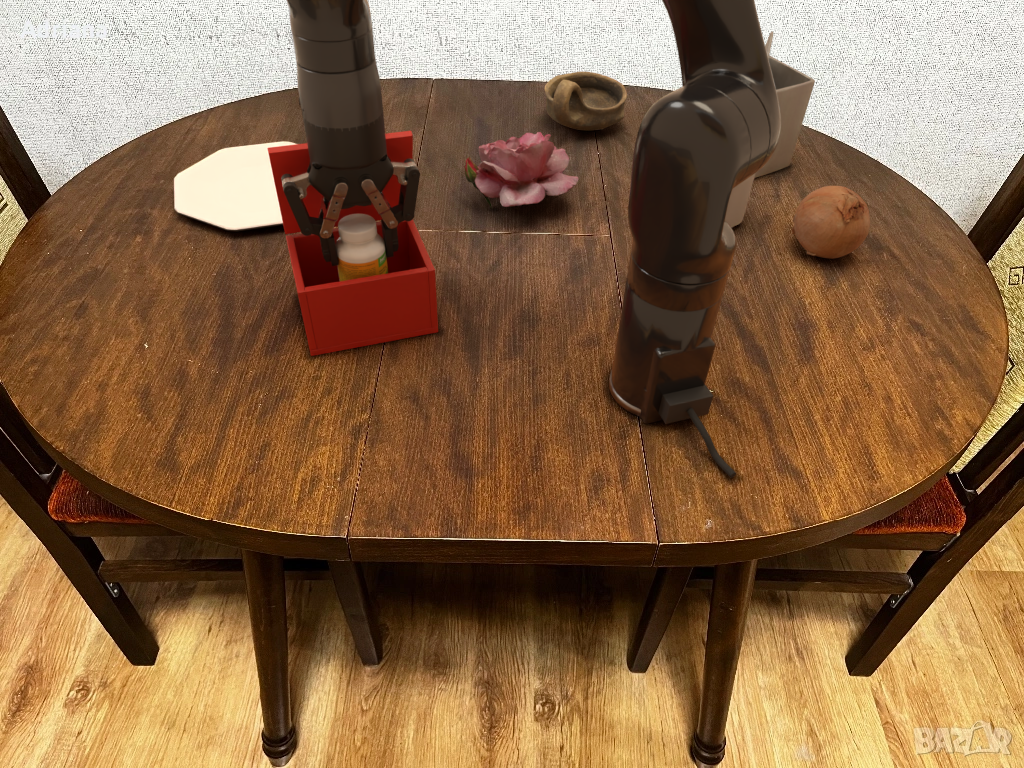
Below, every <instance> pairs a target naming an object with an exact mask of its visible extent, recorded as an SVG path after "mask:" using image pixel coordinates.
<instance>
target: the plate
mask: <svg viewBox="0 0 1024 768" xmlns="http://www.w3.org/2000/svg"><path fill="white" fill-rule="evenodd" d="M295 144H296V143H295V142H291V141H283V140H282V141H273V142H267V143H257V144H256V143H255V144H248V145H241V146H240V145H239V146H232V147H224V148H222V149H219V150H217V151H215V152H212V153H211V154H210V155H208V156H206V157H205V158H203V159H201V160H198V162H196V163H194V164H192V165H190V166H189V167H187V168H185V169H184V170H182V171H180V172H178V173H177V174H176V176H175V177H174V178H173V196H174V197H173V199H174V211H175V212H176V213H177V214H178V215H181V216H184V217H187V218H190V219H192V220H195V221H198V222H201V223H205V224H206V225H207V224H208V225H210V226H212V227H216V228H219V229H222V230H224V231H226V232H227V231H228V232H242V231H243V232H244V231H250V230H256V229H264V228H271V227H277V226H283V221H282V216H281V211H280V207H279V202H278V197H277V192H276V187H275V183H274V178H273V173H272V168H271V163H270V158H269V154H268V149H267V148H270V147H279V146H287V145H295Z"/></svg>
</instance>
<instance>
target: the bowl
mask: <svg viewBox="0 0 1024 768" xmlns="http://www.w3.org/2000/svg"><path fill="white" fill-rule="evenodd" d="M544 95H545V97H546V98H545V110H546V112H547V114H548V116H549V117H550V118H551V119H552V120H553V121H554V122H555V123H558V124H559V125H562V126H563V127H566V128H570V129H574V130H577V131H598V130H599V131H600V130H604V129H606V128H609V127H610V126H613V125H615V124H617V123H619V122H620V121H622V120H624V118H625V103H626V100H627V98H628V92H627V90H626V87H625V85H623V83H622V82H620V81H619V80H617V79H615V78H613V77H610V76H608V75H603V74H601V73H597V72H593V71H585V70H584V71H575V72H568V73H564V74H557V75H555V76H553V77H552V78H550V80H548V81H547V83H546V84H545V85H544Z"/></svg>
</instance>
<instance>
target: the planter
mask: <svg viewBox="0 0 1024 768" xmlns="http://www.w3.org/2000/svg"><path fill="white" fill-rule="evenodd" d="M773 39H774V31H770V33H769V35H768V37H767V40H766V42H765V47H766V51H767V55H768V59H769V63H770V67H771V71H772V75H773V79H774V83H775V88H776V92H777V97H778V102H779V108H780V118H781V128H780V136H779V140H778V144H777V147H776V149H775V151H774V153H773V155H772V156H771V158H770V159H769V161H768V162H767V163H766V164H765V165H764V166H763V167H762V168H761V169H760V170H759V171H757V172H756V173H755V177H754V179H756V178H759V177H762V176H765V175H769V174H772V173H774V172H778V171H781V170H783V169H785V168H788V167H789V166H791V163H792V158H793V156H794V152H795V148H796V146H797V142H798V139H799V136H800V132H801V129H802V126H803V123H804V120H805V115H806V113H807V109H808V106H809V102H810V99H811V97H812V93H813V89H814V87H815V83H816V79H814V78H812V77H810V76H809V75H807V74H805V73H804V72H802V71H801V70H799V69H796V68H794V67H792V66H791V65H788V64H786V63H785V62H782V61H781V60H779V59H777V58H775V57H774V56H772V55H770V53H771V49H772V43H773Z"/></svg>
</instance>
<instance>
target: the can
mask: <svg viewBox="0 0 1024 768" xmlns="http://www.w3.org/2000/svg"><path fill="white" fill-rule="evenodd" d="M754 177H755V174H753V175H752V176H750V177H749V178H747V179H746V180H745V181H743V182H742V183H740V184H739V185H737V186H736V187H734V188H733V189H732V192H731V195H730V199H729V203H728V207H727V212H726V217H725V221H726V222H727V223H728V224H729V225H730V227H731V228H732V229H733V228H735V226H737V225H740V224H742V222H743V221H744V217H745V214H746V210H747V206H748V202H749V199H750V196H751V193H752V192H751V191H752V188H753V184H754V181H755V178H754Z"/></svg>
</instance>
